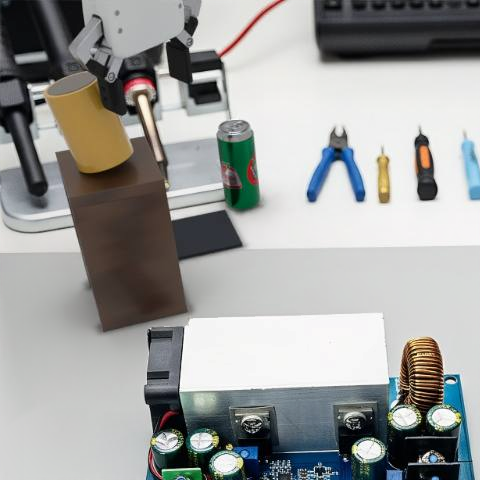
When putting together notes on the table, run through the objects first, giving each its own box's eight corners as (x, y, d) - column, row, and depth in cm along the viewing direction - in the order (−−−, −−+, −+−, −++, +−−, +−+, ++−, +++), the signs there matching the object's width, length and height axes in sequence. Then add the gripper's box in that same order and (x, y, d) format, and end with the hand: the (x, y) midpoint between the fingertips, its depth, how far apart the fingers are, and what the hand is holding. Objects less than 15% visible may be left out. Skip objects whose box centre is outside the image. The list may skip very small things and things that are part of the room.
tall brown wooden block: (103, 331, 121) (68, 197, 108) (88, 283, 128) (54, 152, 115) (187, 311, 124) (164, 179, 111) (169, 265, 131) (144, 135, 118)
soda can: (218, 202, 143) (207, 125, 134) (246, 189, 145) (238, 113, 137) (239, 216, 140) (229, 139, 132) (267, 203, 142) (260, 127, 134)
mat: (177, 260, 132) (176, 257, 132) (162, 225, 138) (161, 222, 138) (242, 246, 135) (242, 243, 134) (225, 212, 141) (225, 209, 140)
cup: (81, 179, 110) (44, 102, 104) (75, 159, 115) (40, 85, 109) (137, 158, 111) (104, 81, 105) (129, 139, 116) (97, 64, 110)
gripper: (162, -97, 104) (182, 59, 116) (27, -53, 94) (64, 113, 106) (213, -81, 101) (229, 78, 113) (79, -33, 91) (111, 136, 103)
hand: (149, 95), depth 110 cm, fingers open, 9 cm apart
